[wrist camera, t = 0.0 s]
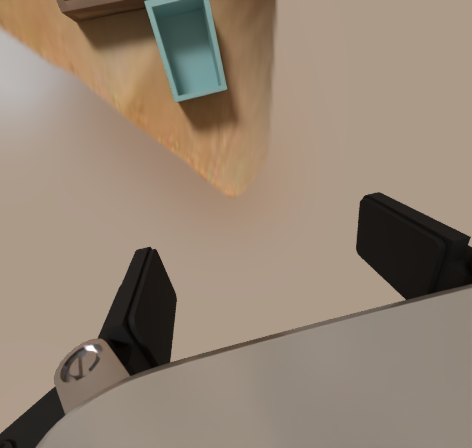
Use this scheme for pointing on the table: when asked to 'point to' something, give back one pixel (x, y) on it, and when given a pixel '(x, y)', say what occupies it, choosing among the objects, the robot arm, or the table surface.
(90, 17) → the walnut crate
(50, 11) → the table surface
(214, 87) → the teal crate
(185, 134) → the table surface
